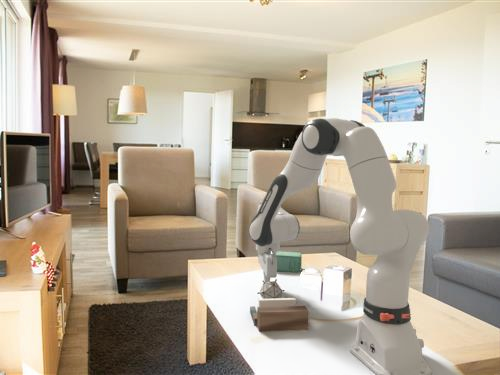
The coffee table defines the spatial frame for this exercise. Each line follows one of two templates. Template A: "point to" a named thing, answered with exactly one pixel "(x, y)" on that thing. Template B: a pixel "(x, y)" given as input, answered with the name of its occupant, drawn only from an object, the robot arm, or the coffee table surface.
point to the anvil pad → (277, 302)
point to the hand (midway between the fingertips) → (266, 282)
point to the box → (288, 261)
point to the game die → (270, 290)
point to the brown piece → (280, 318)
